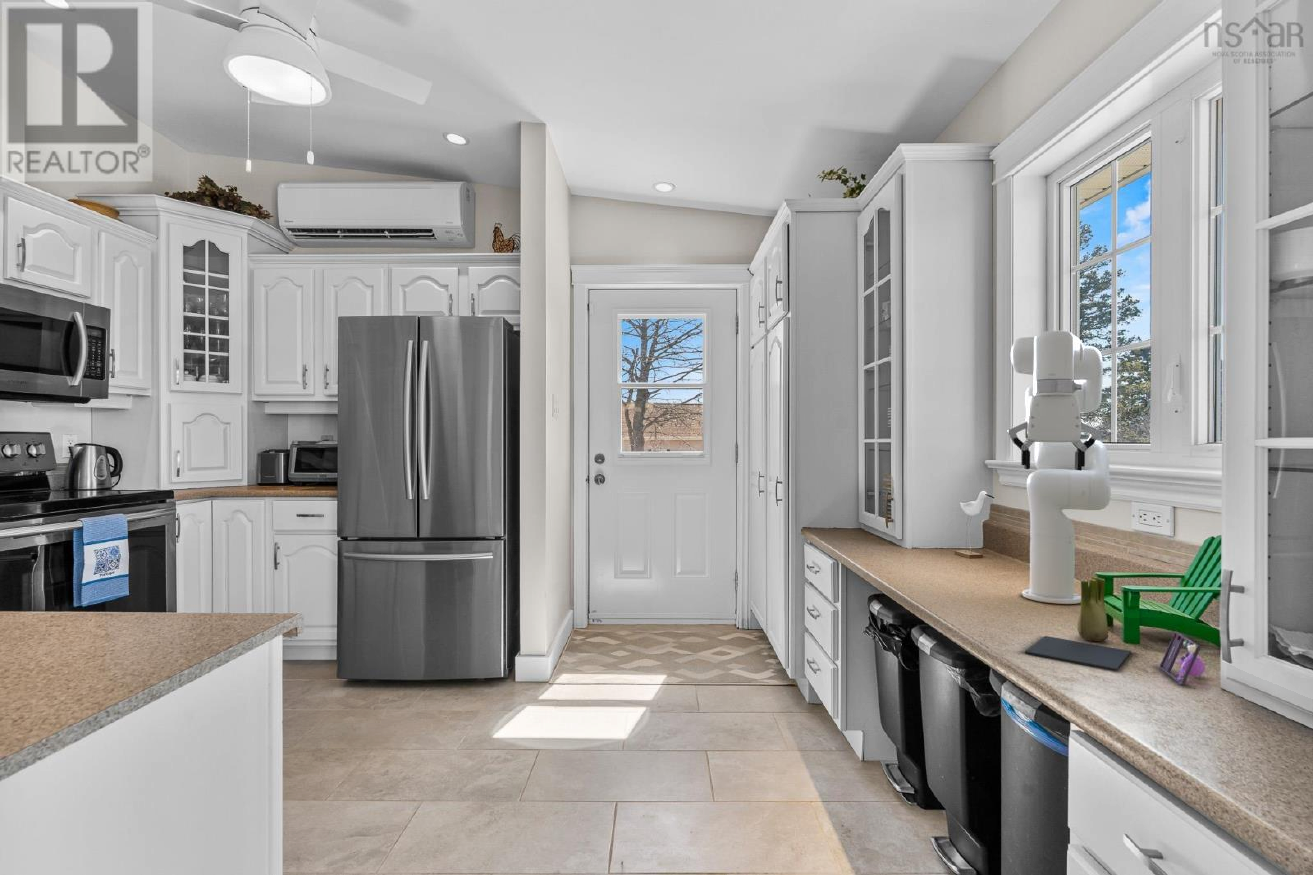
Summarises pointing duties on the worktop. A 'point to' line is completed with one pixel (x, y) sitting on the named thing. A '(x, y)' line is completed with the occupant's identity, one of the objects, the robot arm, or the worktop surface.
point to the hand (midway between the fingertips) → (1052, 469)
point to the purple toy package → (1183, 658)
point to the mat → (1079, 652)
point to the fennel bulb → (1093, 611)
